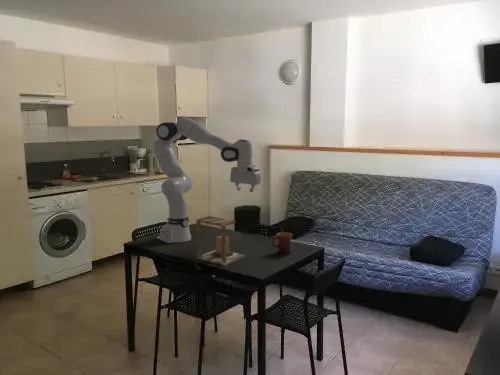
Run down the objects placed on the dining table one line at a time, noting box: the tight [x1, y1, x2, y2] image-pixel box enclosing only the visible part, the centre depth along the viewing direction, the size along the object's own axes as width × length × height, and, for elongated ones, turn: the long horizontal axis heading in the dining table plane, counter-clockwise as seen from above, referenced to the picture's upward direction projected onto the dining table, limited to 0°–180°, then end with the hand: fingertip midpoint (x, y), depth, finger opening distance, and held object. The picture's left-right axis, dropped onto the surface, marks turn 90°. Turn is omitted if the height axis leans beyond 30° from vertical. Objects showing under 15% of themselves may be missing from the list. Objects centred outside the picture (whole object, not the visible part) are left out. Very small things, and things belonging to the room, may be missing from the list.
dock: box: [195, 215, 246, 266], centre depth 225 cm, size 19×16×21 cm
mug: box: [270, 231, 293, 255], centre depth 233 cm, size 12×9×10 cm
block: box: [215, 234, 230, 255], centre depth 226 cm, size 5×5×10 cm
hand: (245, 191), depth 249 cm, fingers open, 8 cm apart
